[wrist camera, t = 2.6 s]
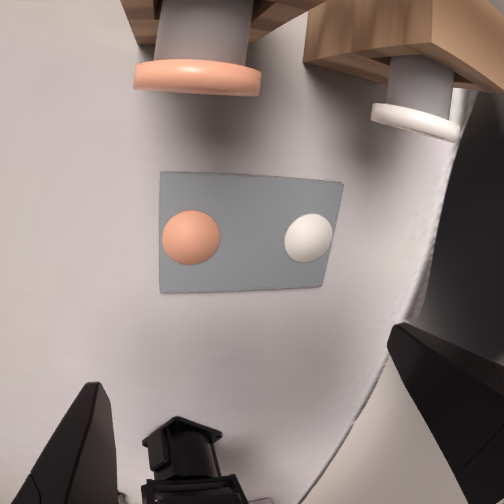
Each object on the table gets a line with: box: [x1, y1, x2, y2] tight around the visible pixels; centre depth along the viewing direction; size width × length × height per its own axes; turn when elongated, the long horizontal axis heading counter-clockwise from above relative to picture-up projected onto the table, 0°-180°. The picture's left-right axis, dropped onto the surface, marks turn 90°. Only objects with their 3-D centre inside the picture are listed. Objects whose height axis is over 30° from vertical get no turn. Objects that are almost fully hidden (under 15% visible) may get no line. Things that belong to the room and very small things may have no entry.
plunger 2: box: [371, 54, 460, 144], centre depth 11 cm, size 7×4×4 cm, turn 173°
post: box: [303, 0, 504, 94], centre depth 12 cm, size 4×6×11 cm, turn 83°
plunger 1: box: [133, 0, 262, 96], centre depth 9 cm, size 7×4×4 cm, turn 173°
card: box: [159, 172, 344, 293], centre depth 21 cm, size 8×12×1 cm, turn 83°
